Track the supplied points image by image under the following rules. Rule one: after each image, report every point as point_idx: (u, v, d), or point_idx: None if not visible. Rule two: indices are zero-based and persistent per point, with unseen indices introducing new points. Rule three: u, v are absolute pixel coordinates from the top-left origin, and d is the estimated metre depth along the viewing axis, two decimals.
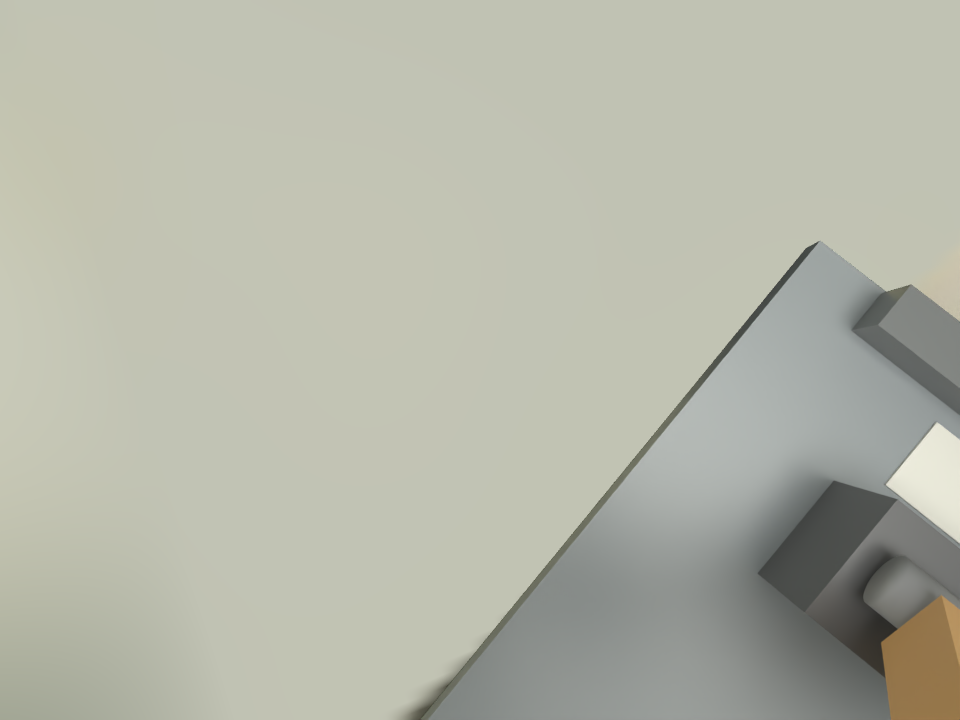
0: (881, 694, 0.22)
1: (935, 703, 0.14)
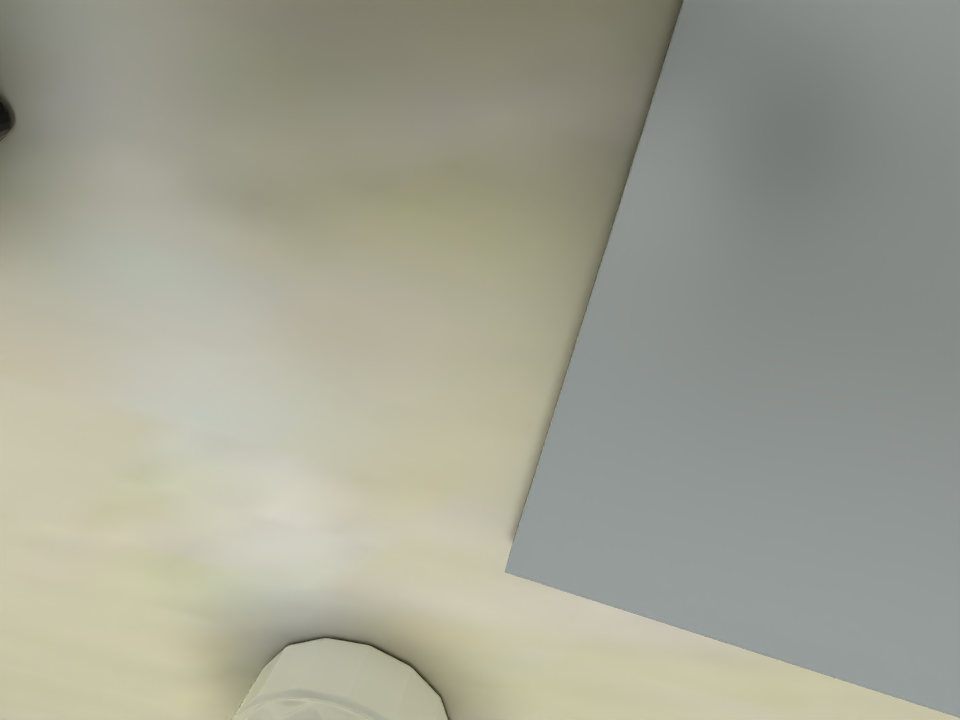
0: None
1: None
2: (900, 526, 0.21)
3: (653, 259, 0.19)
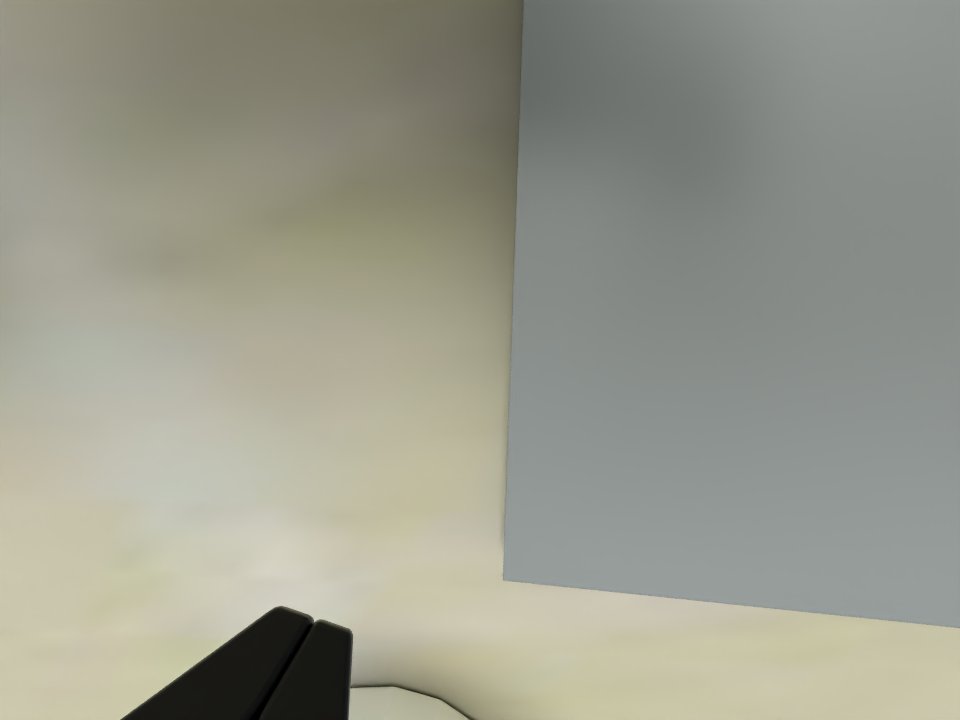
0: None
1: None
2: (884, 445, 0.20)
3: (564, 227, 0.18)
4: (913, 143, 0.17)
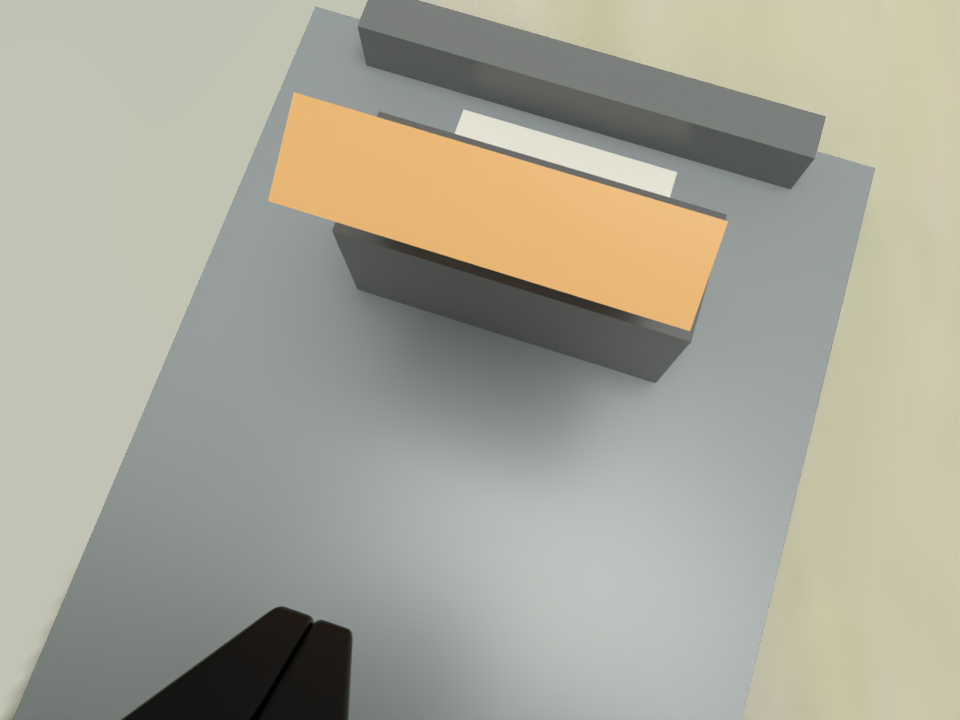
0: (506, 351, 0.23)
1: None
2: (552, 565, 0.22)
3: None
4: (275, 517, 0.22)
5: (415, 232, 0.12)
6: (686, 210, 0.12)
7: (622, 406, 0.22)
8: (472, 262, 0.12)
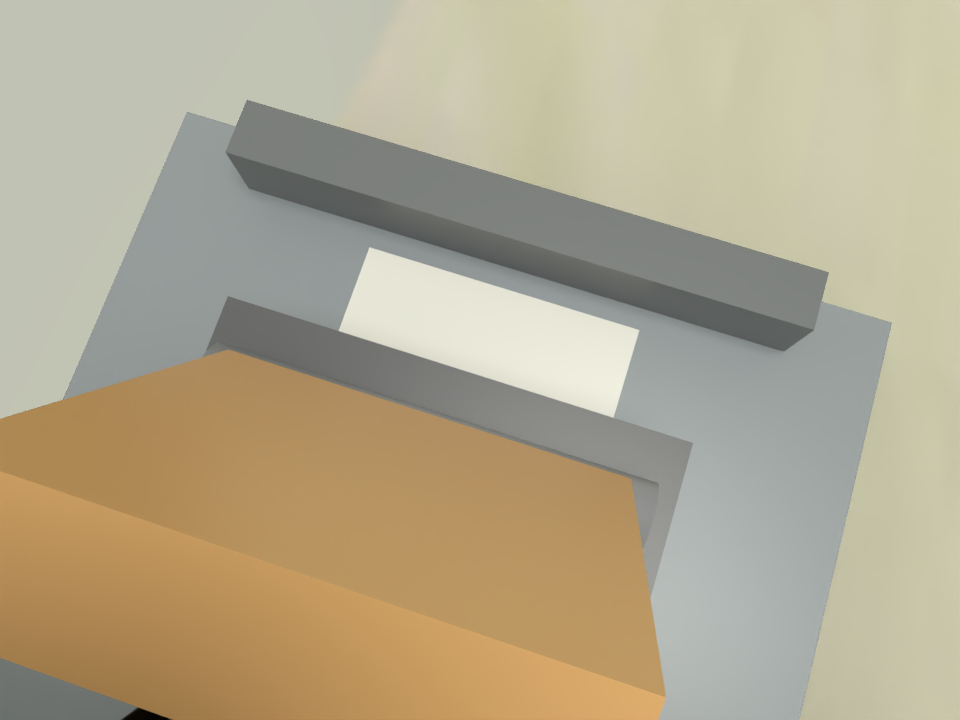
0: None
1: None
2: None
3: None
4: None
5: (130, 683, 0.07)
6: (592, 674, 0.07)
7: None
8: None
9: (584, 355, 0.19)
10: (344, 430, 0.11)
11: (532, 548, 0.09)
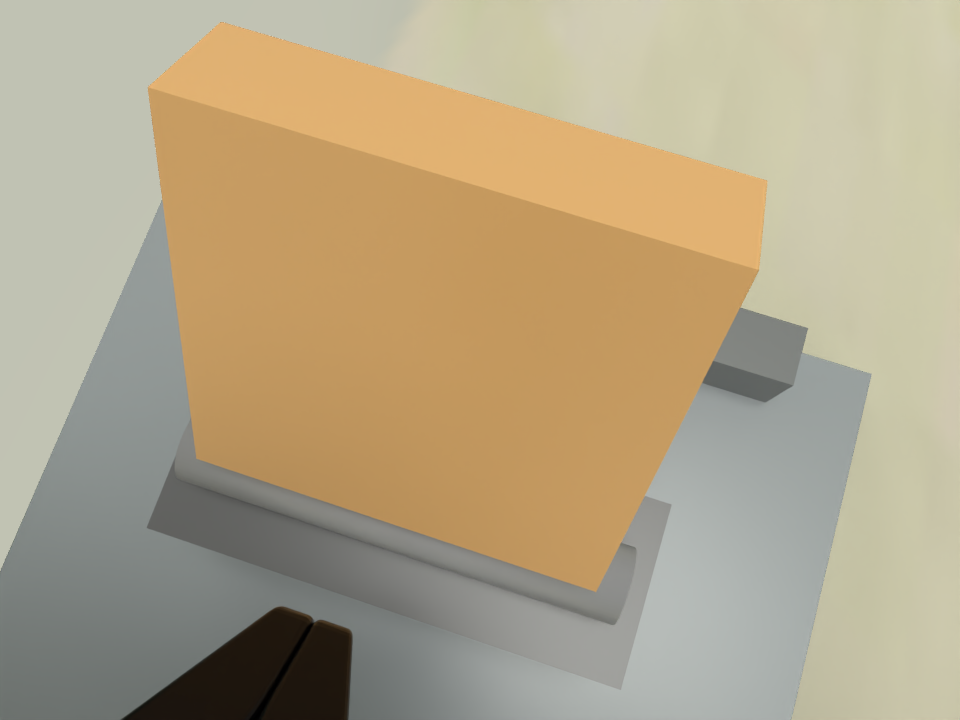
0: (403, 620, 0.18)
1: None
2: None
3: None
4: None
5: (361, 137, 0.09)
6: (714, 166, 0.09)
7: (549, 695, 0.18)
8: (441, 174, 0.08)
9: None
10: None
11: None
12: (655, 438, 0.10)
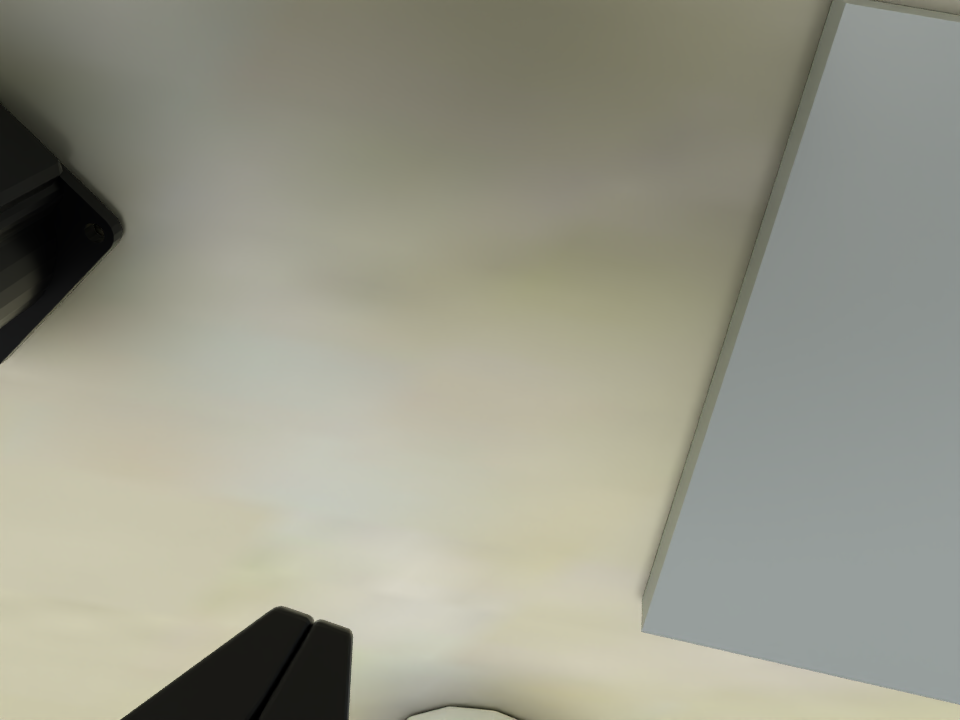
0: None
1: None
2: None
3: (794, 319, 0.19)
4: None
5: None
6: None
7: None
8: None
9: None
10: None
11: None
12: None
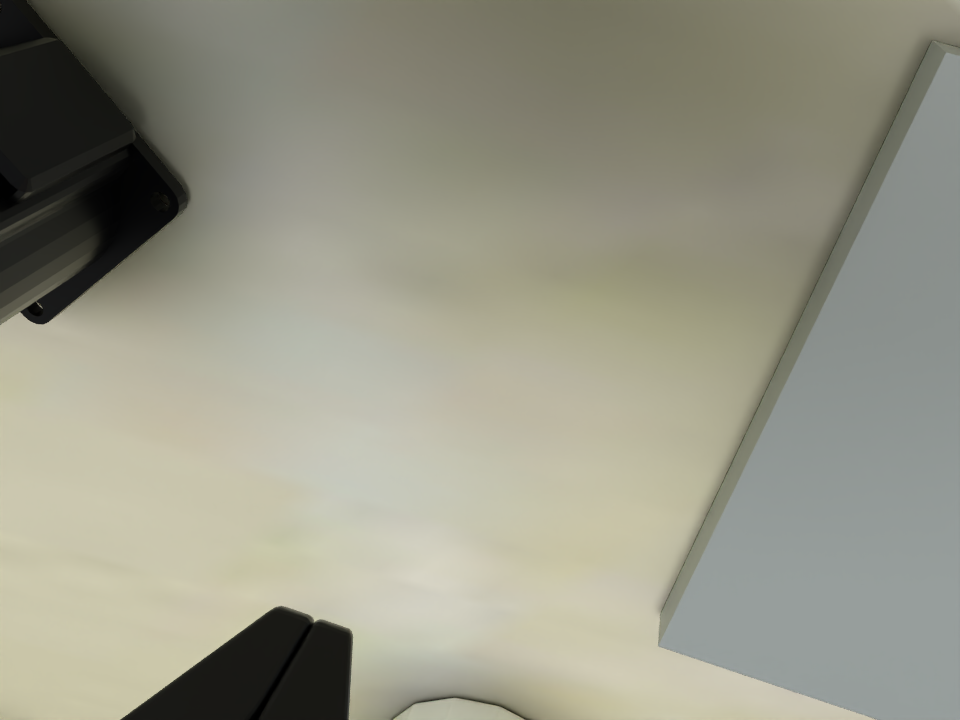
0: None
1: None
2: None
3: (851, 357, 0.19)
4: None
5: None
6: None
7: None
8: None
9: None
10: None
11: None
12: None
